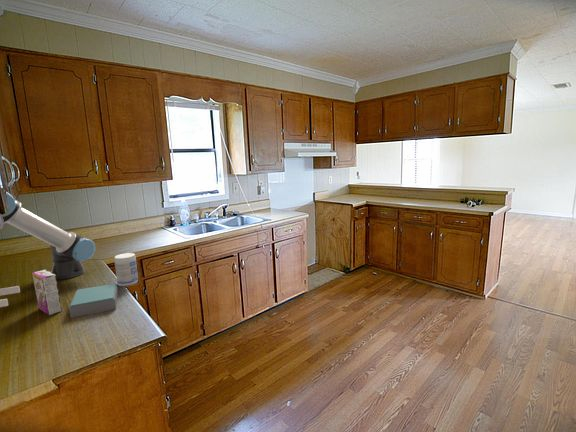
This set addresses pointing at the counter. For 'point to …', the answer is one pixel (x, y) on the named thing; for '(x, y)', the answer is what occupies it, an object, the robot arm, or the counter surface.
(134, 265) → the supplement tub
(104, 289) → the block
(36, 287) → the candy bar box
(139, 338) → the counter surface
